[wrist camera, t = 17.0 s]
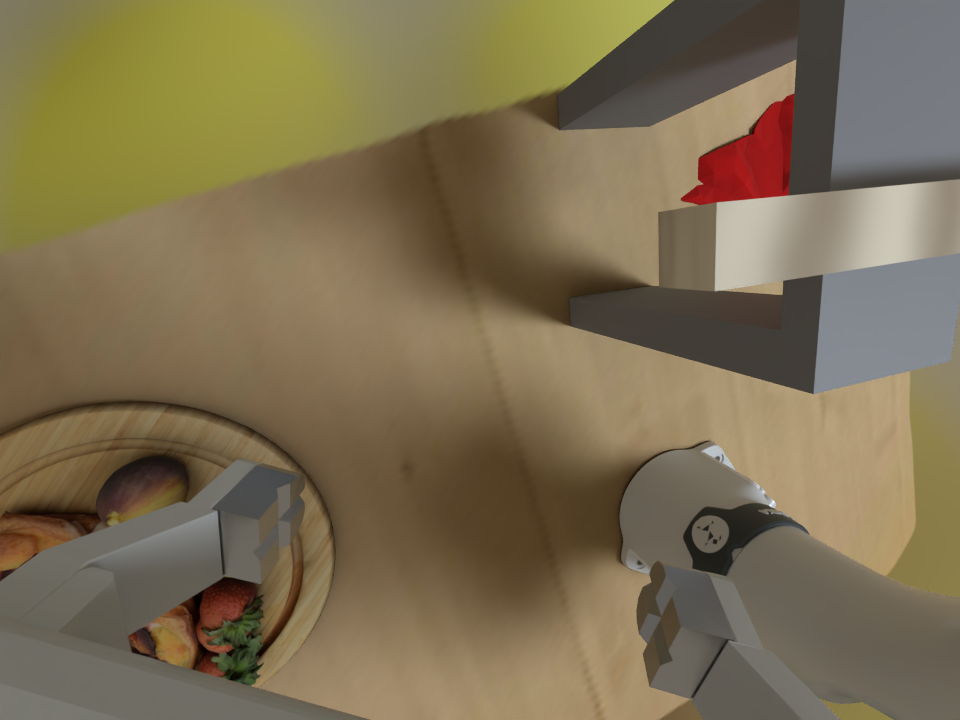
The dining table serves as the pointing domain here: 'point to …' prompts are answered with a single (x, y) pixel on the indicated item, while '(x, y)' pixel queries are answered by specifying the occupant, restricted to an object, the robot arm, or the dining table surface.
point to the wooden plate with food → (149, 487)
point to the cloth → (750, 162)
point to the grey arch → (798, 177)
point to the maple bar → (806, 235)
